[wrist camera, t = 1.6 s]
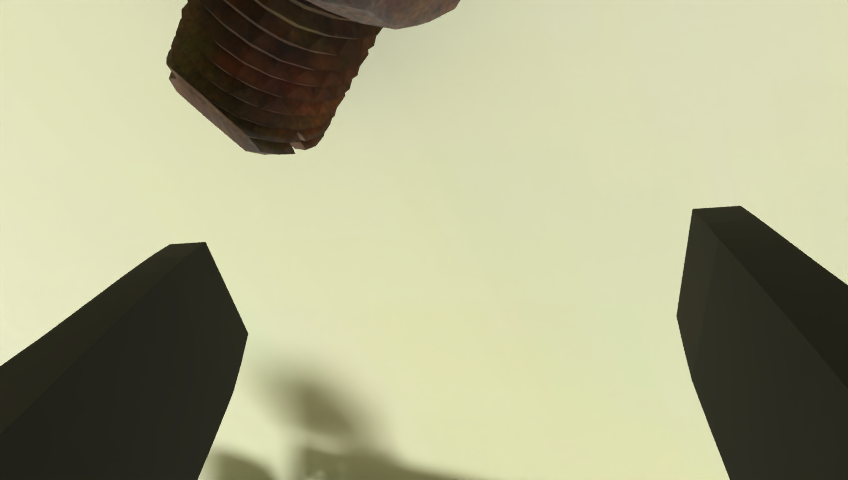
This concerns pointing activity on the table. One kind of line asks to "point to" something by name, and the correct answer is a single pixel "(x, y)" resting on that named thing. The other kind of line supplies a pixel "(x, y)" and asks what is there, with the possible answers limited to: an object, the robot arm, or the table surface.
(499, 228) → the table surface
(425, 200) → the table surface
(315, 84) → the bolt
